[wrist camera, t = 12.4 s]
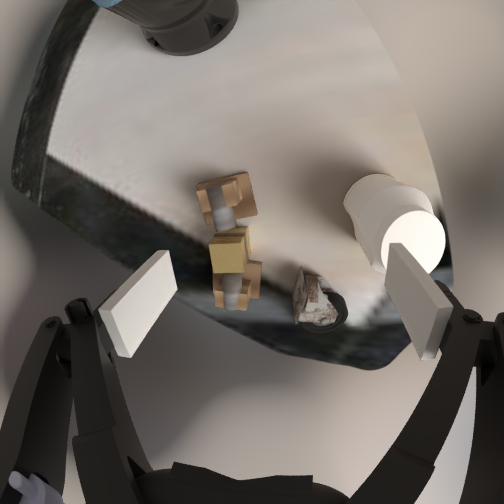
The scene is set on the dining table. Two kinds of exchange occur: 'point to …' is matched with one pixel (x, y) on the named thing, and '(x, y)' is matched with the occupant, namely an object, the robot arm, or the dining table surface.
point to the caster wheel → (317, 304)
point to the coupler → (230, 250)
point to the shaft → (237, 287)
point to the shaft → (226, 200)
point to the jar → (394, 221)
